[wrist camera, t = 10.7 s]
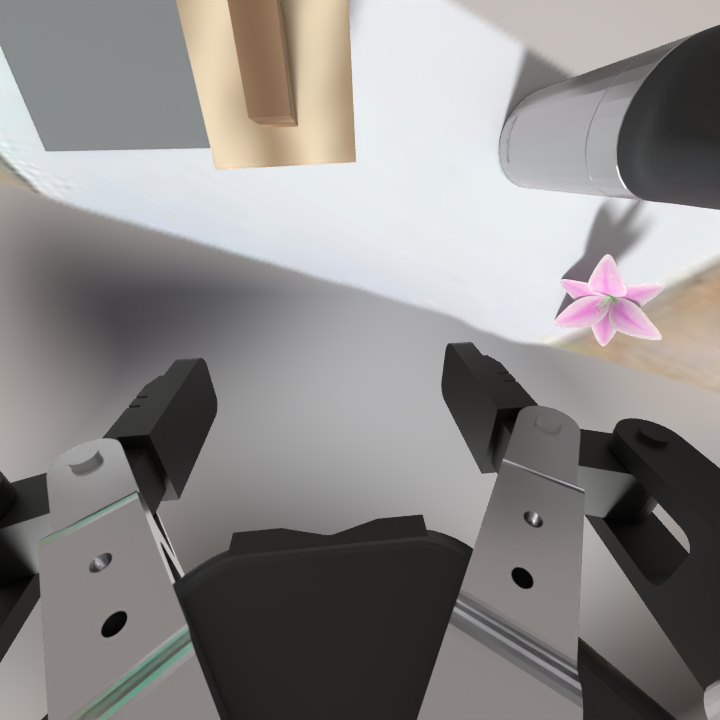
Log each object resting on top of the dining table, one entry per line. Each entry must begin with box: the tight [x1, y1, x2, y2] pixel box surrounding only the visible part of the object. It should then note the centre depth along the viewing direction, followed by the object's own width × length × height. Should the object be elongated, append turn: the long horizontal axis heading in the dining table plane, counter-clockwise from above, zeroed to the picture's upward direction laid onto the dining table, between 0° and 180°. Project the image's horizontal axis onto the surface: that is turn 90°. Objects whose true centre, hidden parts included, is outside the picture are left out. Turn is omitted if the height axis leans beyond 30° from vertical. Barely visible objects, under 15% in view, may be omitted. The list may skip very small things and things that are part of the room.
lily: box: [554, 254, 666, 346], centre depth 43 cm, size 12×12×10 cm
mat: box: [0, 0, 210, 151], centre depth 30 cm, size 18×14×1 cm
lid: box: [176, 0, 356, 170], centre depth 21 cm, size 11×11×7 cm
